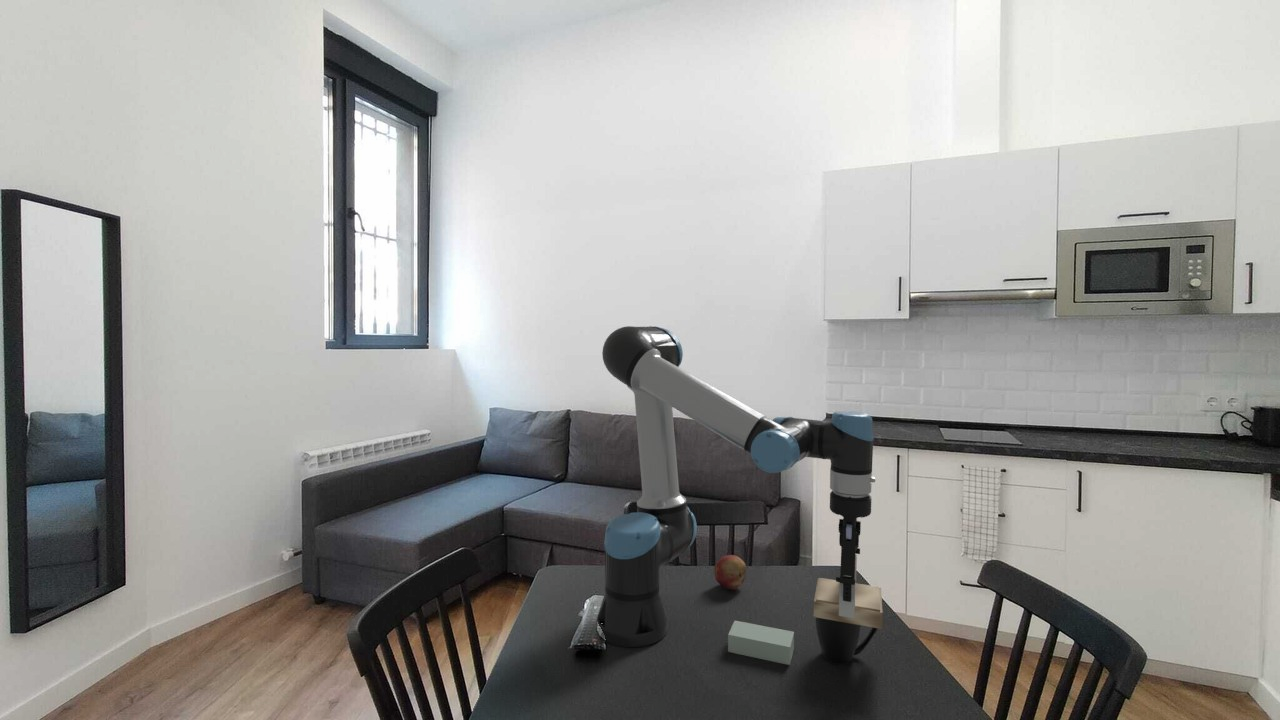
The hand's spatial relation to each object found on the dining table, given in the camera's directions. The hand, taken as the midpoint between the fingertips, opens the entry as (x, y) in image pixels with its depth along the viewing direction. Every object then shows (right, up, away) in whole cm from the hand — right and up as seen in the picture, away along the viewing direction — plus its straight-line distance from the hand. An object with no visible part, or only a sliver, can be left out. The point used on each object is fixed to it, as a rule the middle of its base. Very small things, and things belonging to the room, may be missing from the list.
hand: (847, 600), depth 111 cm
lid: (0, -2, 0) cm, 2 cm away
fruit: (-18, -10, +30) cm, 37 cm away
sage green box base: (-16, -11, +3) cm, 20 cm away
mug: (0, -12, +1) cm, 12 cm away
